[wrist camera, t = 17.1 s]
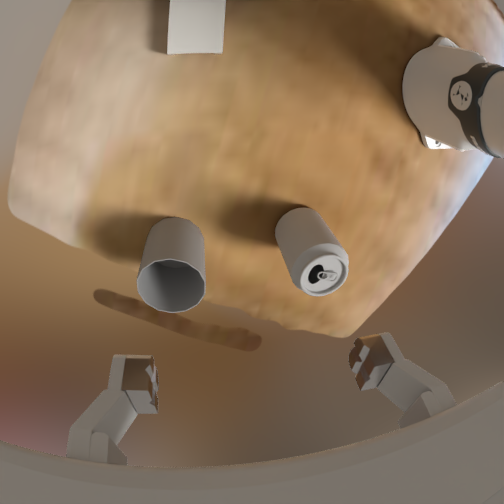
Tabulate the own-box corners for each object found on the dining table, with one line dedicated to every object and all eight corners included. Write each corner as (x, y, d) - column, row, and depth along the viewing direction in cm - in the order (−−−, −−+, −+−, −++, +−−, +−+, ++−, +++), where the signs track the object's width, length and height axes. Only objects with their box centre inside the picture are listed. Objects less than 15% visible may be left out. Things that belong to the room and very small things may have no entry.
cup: (187, 273, 47) (186, 320, 39) (139, 253, 44) (127, 298, 36) (214, 232, 44) (218, 275, 36) (162, 207, 40) (153, 247, 32)
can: (279, 202, 43) (303, 249, 33) (327, 207, 44) (362, 253, 34) (269, 247, 47) (288, 301, 37) (314, 250, 48) (342, 301, 38)
